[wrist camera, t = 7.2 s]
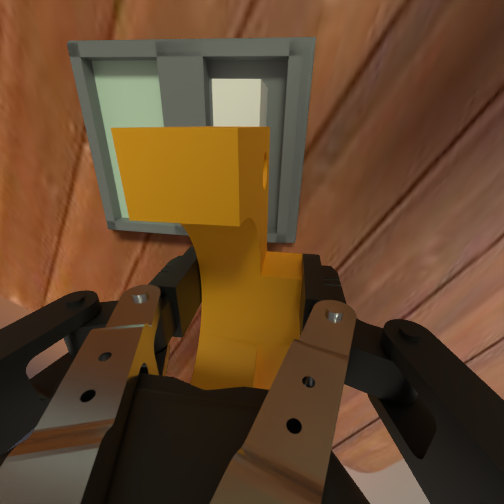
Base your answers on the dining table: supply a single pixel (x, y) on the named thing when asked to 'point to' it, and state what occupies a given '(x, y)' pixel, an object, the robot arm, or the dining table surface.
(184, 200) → the orange stepped block
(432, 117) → the dining table surface
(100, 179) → the dock
